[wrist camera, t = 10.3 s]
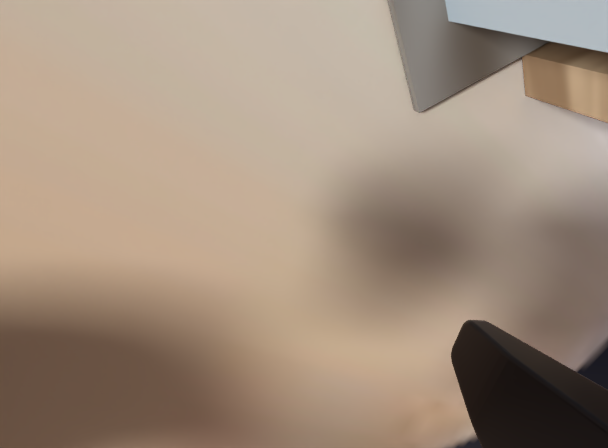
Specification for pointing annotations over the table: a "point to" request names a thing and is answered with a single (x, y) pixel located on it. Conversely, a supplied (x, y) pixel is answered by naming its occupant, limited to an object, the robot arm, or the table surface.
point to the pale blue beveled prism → (539, 19)
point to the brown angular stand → (492, 60)
